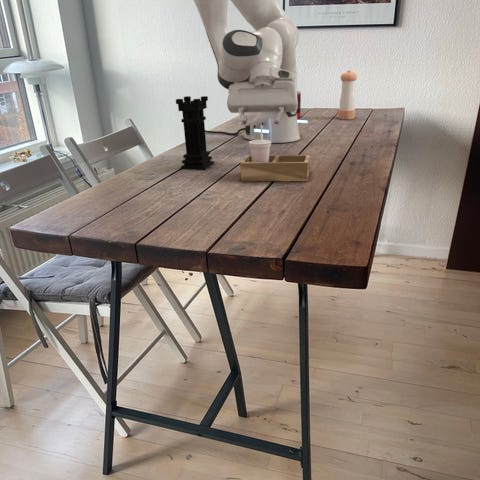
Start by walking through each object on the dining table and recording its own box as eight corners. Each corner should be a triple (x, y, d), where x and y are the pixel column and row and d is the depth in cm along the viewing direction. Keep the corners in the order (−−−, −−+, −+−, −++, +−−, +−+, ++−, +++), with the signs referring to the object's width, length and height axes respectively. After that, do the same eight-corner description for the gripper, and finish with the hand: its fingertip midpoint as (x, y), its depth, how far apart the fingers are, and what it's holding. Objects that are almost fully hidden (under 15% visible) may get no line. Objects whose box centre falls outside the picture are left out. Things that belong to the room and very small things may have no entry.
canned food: (281, 117, 234) (281, 91, 228) (298, 116, 234) (299, 90, 229) (284, 119, 227) (284, 93, 222) (301, 118, 228) (302, 92, 222)
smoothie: (270, 179, 141) (269, 127, 134) (247, 179, 142) (245, 127, 135) (273, 173, 146) (272, 123, 139) (251, 173, 147) (250, 123, 140)
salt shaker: (342, 116, 228) (345, 69, 218) (357, 117, 224) (360, 69, 215) (335, 118, 223) (337, 71, 213) (350, 119, 219) (353, 71, 210)
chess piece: (214, 163, 160) (209, 96, 150) (204, 169, 154) (198, 99, 144) (191, 162, 163) (185, 96, 152) (181, 168, 156) (173, 99, 146)
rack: (246, 172, 149) (246, 155, 146) (309, 172, 146) (309, 154, 143) (241, 181, 141) (240, 163, 138) (307, 181, 137) (307, 162, 135)
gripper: (227, 74, 143) (222, 116, 140) (298, 72, 140) (294, 115, 136) (231, 89, 149) (226, 130, 146) (299, 88, 146) (296, 129, 142)
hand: (260, 123), depth 141 cm, fingers open, 8 cm apart
